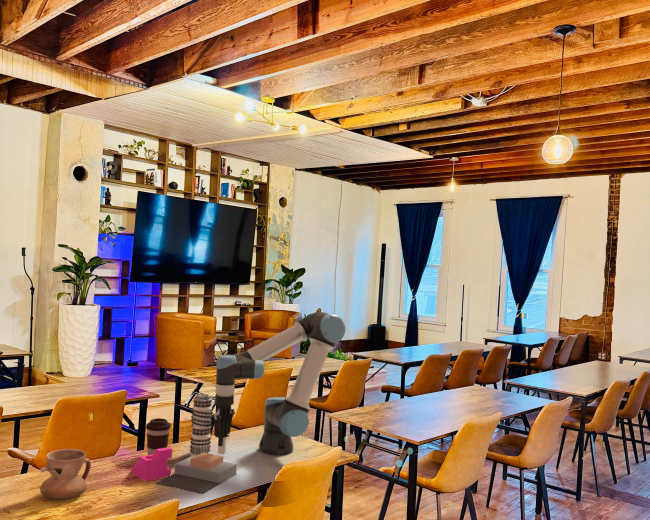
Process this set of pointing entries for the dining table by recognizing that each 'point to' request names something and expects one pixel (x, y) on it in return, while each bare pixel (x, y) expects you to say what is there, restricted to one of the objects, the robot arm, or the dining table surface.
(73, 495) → the ceramic jug
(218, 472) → the board
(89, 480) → the dining table surface
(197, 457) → the coaster
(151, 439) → the coffee cup
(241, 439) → the dining table surface
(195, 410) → the decorative candle
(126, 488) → the dining table surface
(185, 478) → the mat
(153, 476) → the bracket
